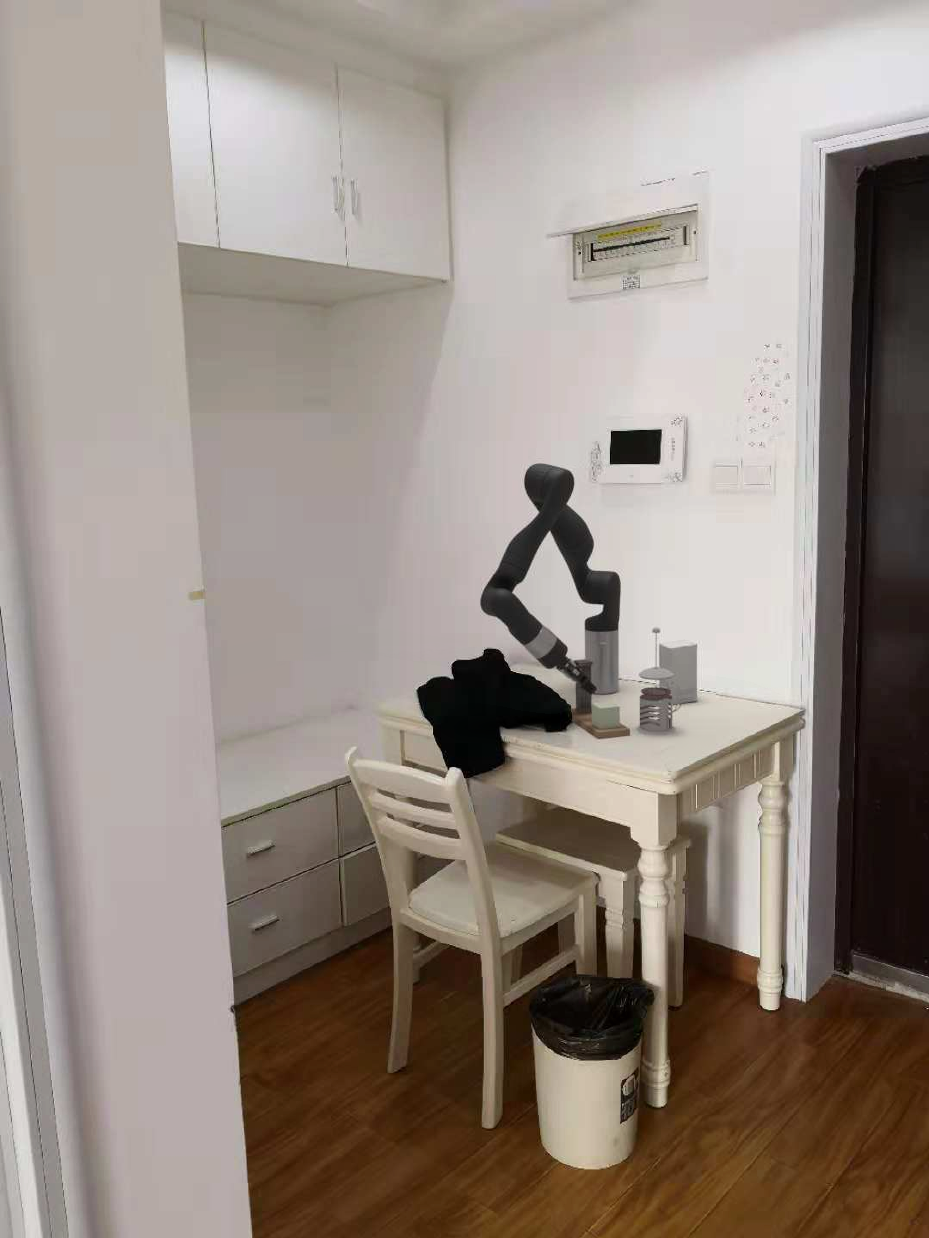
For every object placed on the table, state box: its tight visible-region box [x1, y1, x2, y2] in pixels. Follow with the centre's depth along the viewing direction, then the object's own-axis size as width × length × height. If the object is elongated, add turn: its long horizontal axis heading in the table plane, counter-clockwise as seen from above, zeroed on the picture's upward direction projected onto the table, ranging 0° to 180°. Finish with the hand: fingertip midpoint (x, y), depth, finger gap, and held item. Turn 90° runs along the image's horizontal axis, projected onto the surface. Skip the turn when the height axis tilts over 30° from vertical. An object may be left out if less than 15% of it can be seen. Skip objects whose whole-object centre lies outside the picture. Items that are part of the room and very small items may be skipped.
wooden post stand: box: [569, 658, 631, 740], centre depth 254 cm, size 22×8×14 cm, turn 15°
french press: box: [635, 626, 683, 736], centre depth 247 cm, size 10×12×25 cm
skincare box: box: [658, 639, 698, 706], centre depth 275 cm, size 8×7×16 cm
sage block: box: [592, 701, 621, 729], centre depth 249 cm, size 5×5×5 cm
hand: (591, 689), depth 262 cm, fingers closed on wooden post stand, 3 cm apart
